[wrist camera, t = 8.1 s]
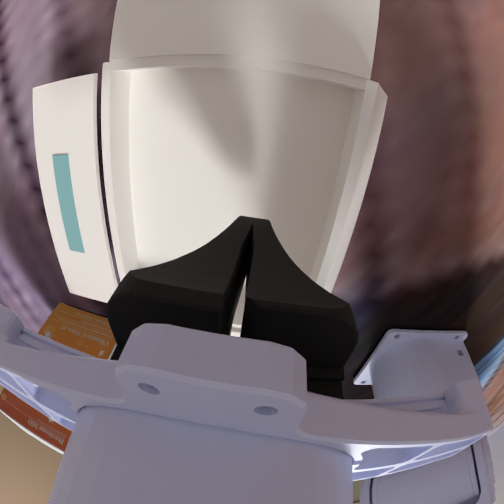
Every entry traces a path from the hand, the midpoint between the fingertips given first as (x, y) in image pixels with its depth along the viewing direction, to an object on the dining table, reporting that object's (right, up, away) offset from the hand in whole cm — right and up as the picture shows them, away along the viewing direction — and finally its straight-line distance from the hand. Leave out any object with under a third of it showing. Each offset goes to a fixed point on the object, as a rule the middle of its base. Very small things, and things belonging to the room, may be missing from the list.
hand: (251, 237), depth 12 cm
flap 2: (+3, -1, -1) cm, 3 cm away
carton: (-1, +2, +3) cm, 4 cm away
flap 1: (-10, +2, +1) cm, 10 cm away
